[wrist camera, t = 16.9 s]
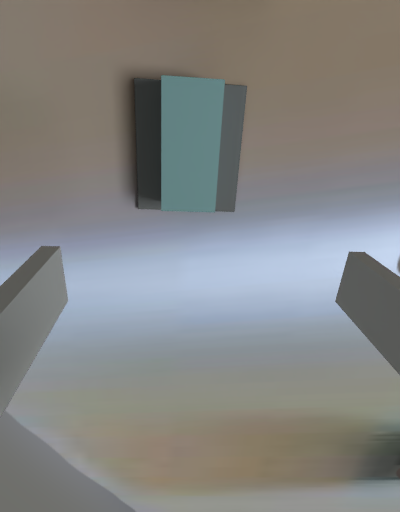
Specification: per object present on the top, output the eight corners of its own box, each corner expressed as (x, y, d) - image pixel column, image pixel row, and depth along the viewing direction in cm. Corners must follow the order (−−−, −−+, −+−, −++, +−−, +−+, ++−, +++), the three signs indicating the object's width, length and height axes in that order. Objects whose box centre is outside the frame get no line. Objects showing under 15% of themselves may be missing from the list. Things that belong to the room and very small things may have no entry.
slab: (162, 80, 32) (161, 75, 28) (219, 84, 33) (224, 79, 29) (162, 201, 37) (161, 210, 34) (211, 203, 38) (215, 212, 34)
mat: (134, 78, 32) (134, 78, 32) (246, 86, 33) (247, 85, 33) (138, 208, 38) (138, 208, 37) (233, 211, 39) (234, 211, 38)
